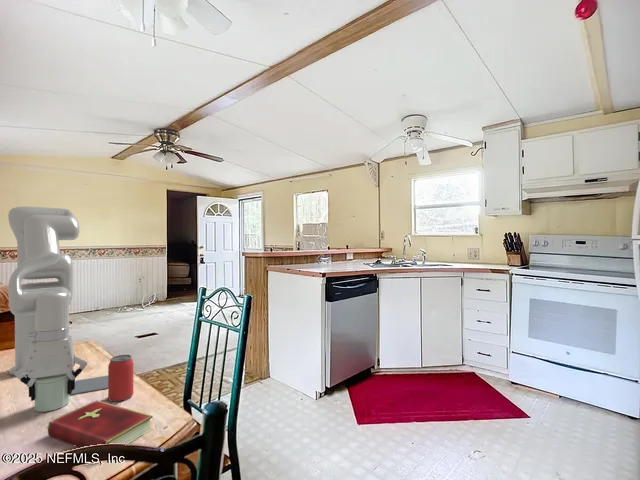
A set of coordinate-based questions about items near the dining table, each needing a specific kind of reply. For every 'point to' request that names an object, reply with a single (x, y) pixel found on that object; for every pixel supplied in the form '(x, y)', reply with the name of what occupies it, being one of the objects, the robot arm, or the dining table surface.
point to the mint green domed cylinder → (51, 393)
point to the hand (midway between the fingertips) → (52, 395)
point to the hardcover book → (99, 425)
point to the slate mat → (90, 385)
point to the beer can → (120, 378)
